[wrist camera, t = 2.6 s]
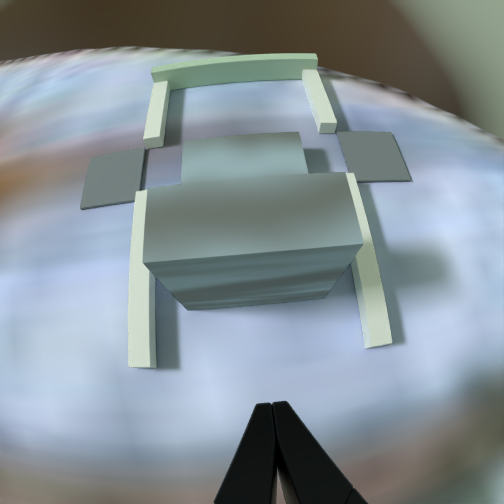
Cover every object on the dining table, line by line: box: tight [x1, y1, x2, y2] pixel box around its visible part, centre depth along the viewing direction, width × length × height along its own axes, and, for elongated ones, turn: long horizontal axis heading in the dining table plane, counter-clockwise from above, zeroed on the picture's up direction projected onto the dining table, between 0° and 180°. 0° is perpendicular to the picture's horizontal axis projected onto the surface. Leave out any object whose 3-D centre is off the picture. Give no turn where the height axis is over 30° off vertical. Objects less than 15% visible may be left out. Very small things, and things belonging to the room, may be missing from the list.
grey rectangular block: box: [142, 132, 364, 310], centre depth 21 cm, size 14×10×10 cm
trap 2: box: [80, 147, 146, 210], centre depth 28 cm, size 6×6×1 cm
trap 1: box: [336, 131, 411, 183], centre depth 28 cm, size 6×6×1 cm
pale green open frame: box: [128, 54, 392, 368], centre depth 26 cm, size 30×18×3 cm, turn 5°
